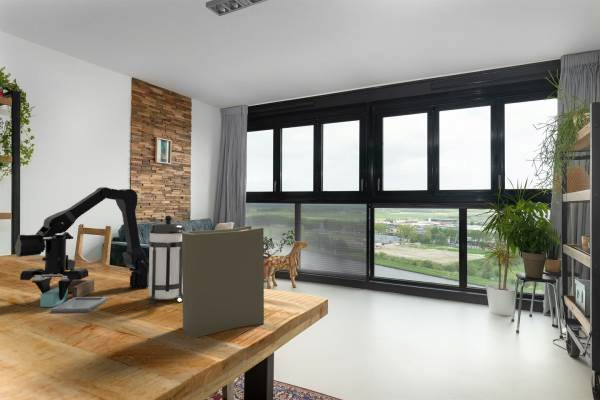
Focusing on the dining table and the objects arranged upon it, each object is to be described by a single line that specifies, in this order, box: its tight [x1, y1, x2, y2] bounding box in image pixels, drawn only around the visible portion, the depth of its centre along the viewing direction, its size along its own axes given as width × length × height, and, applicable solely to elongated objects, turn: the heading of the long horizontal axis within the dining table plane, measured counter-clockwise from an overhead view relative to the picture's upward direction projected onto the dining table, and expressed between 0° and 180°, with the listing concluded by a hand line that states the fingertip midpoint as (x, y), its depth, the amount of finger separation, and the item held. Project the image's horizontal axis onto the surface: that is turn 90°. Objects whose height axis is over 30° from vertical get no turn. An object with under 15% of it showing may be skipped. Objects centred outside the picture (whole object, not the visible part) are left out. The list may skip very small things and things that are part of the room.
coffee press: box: [148, 215, 188, 305], centre depth 122 cm, size 17×16×30 cm
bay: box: [50, 278, 95, 299], centre depth 125 cm, size 10×12×4 cm
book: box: [182, 225, 265, 339], centre depth 98 cm, size 22×9×28 cm, turn 124°
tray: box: [50, 296, 109, 313], centre depth 113 cm, size 11×13×1 cm
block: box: [39, 288, 69, 308], centre depth 115 cm, size 4×4×8 cm
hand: (54, 299), depth 115 cm, fingers closed on block, 4 cm apart
